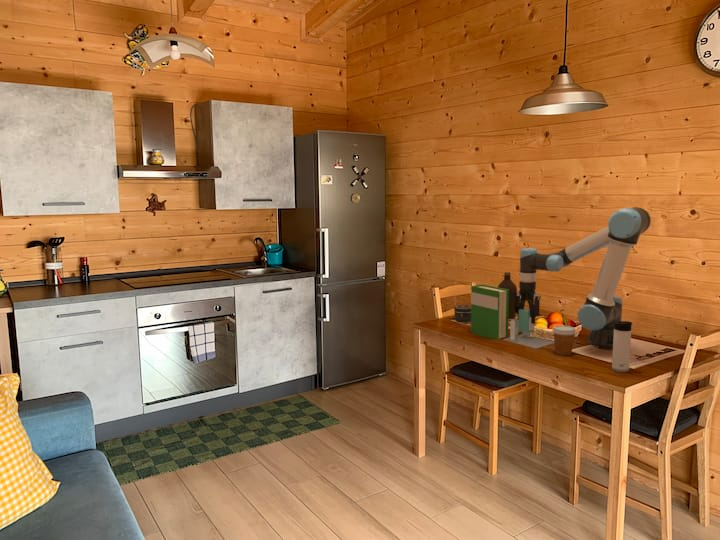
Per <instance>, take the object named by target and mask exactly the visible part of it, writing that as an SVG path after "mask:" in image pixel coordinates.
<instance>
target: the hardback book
mask: <svg viewBox="0 0 720 540" xmlns="http://www.w3.org/2000/svg"><path fill="white" fill-rule="evenodd" d="M470 288H471V290H470V291H471V292H470V293H471V294H470V295H471V297H470V298H471V299H470V303H471V305H470V306H471V321H470V333H471V334H473V335H476V336H479V337H482V338H486V339H488V340H489V339H490V340H491V339H494V340H499V339H502V338H503V339H504V338H509V319H508V318H509V289H503V288H498V286H493V285H488V284H487V285H486V284H477V285H471V287H470Z"/></svg>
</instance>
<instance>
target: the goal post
mask: <svg viewBox="0 0 720 540" xmlns="http://www.w3.org/2000/svg"><path fill="white" fill-rule="evenodd" d="M521 334H522V336H519V337H522V338H526V339H528V338H531V337H534V336H533V335H531V332H530V333H524V332H521Z"/></svg>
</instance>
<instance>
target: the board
mask: <svg viewBox="0 0 720 540" xmlns="http://www.w3.org/2000/svg"><path fill="white" fill-rule="evenodd" d="M519 336H522V333H520V334H518V339H520V340H521V341H517V342H512V341H509V340H507V339H510V336H508V337H505V338H503V339H502V338H501V339H502V340H503V341H505V342H506V341H507V342H510V343H514V344H518V345H521V346H524V347H525V346H526V347H529V348H533V349H540V348H543V347H545V346H549V345H552V344H555V341H552V340H548V339H544V338H540V337H536V336H533V337H531V338H528V339H526V338H522V337H519Z"/></svg>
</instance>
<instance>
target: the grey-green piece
mask: <svg viewBox="0 0 720 540" xmlns="http://www.w3.org/2000/svg"><path fill="white" fill-rule="evenodd" d="M530 316H531V314H530V309H529V307H524V309H519V320H518V321H519V324H518V332H521V333H522V332H524V333H530V334H531V333H533V332H535V329H534V330H529V317H530Z"/></svg>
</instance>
